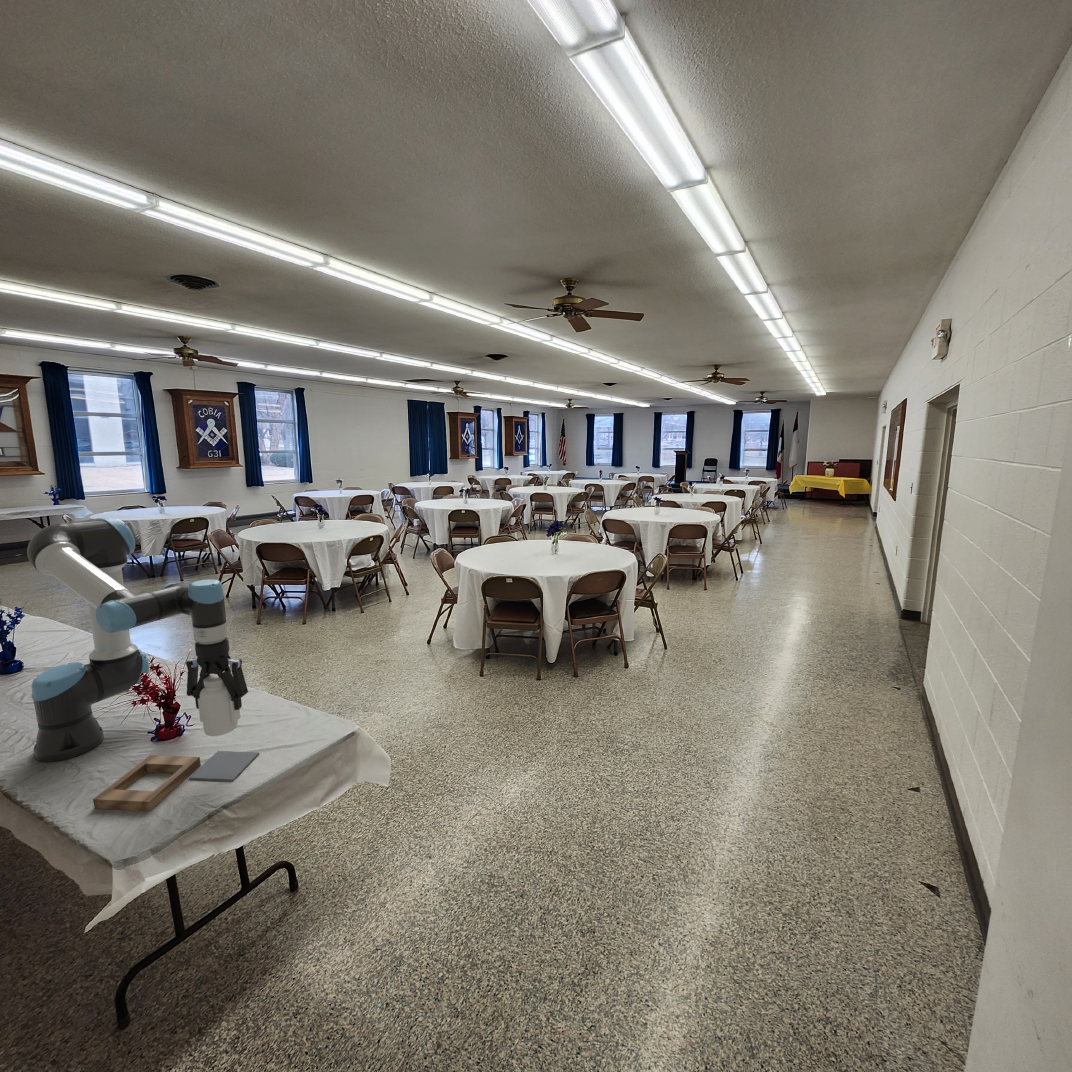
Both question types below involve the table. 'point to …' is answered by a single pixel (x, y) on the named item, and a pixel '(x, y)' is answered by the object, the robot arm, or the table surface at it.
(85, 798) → the table surface
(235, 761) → the mat
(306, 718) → the table surface
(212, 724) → the pill bottle
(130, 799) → the pocket board
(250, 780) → the table surface
